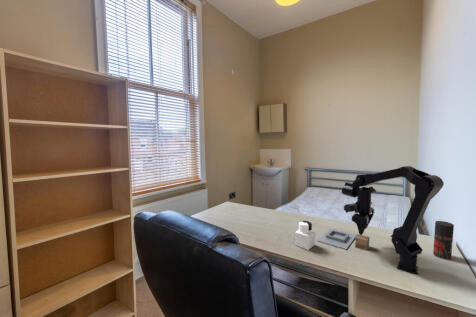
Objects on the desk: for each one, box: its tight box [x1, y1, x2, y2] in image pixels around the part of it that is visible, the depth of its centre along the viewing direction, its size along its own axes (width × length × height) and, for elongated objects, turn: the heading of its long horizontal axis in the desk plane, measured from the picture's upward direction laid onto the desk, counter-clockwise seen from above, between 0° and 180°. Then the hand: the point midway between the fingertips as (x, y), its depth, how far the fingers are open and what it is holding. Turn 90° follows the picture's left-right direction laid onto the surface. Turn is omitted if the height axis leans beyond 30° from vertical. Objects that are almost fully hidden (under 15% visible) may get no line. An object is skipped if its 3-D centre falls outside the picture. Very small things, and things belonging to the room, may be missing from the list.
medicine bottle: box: [294, 220, 316, 251], centre depth 109 cm, size 7×7×12 cm
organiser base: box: [316, 227, 358, 250], centre depth 116 cm, size 20×14×2 cm
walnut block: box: [354, 233, 370, 251], centre depth 107 cm, size 5×5×5 cm
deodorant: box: [432, 220, 455, 261], centre depth 97 cm, size 6×6×15 cm
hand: (362, 231), depth 106 cm, fingers open, 9 cm apart
